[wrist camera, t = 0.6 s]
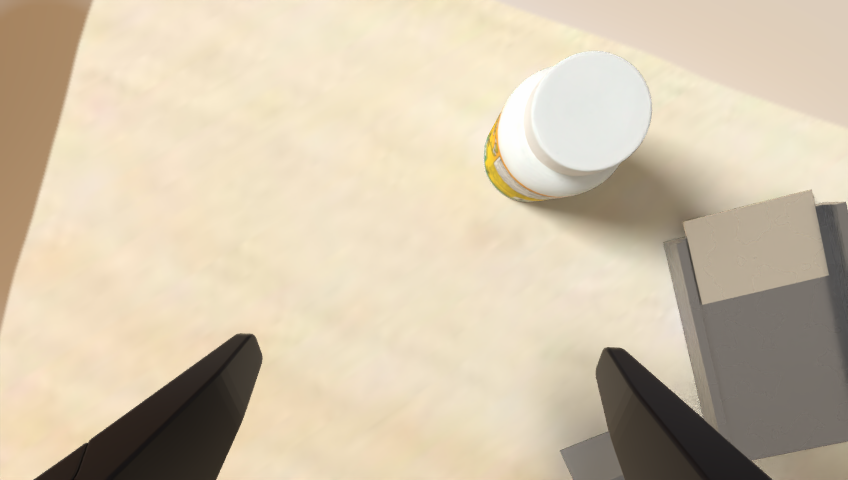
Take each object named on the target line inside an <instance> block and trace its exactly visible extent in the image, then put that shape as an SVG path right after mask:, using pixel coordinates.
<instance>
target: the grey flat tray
mask: <svg viewBox="0 0 848 480" xmlns="http://www.w3.org/2000/svg"><path fill="white" fill-rule="evenodd" d="M683 226H684V231H685V235H686V237H682V238H678V239H674V240H670V241H666V242H664V246H665V251H666V255H667V260H668V264H669V268H670V273H671V277H672V281H673V286H674V290H675V295H676V299H677V303H678V308H679V312H680V316H681V321H682V325H683V330H684V334H685V338H686V343H687V347H688V351H689V356H690V360H691V365H692V369H693V373H694V378H695V382H696V386H697V391H698V395H699V400H700V404H701V408H702V413H703V417H704V420H705V421H706V422H707V423H709V424H710V425H711V426H712V427H713V428H714V429H715V430H717V431H718V432H719V433H720V434H721V435H722V436H723V437H725V438H726V439H727V440H728V441H729V442H730V443H731V444H732V445H734V446H735V447H736V448H737V449H738V450H739V451H740V452H742V453H743V454H744V455H745V456H746V457H747V458H748V459H750V460H755V459H760V458H765V457H770V456H775V455H780V454H785V453H790V452H796V451H801V450H806V449H811V448H816V447H821V446H826V445H831V444H836V443H841V442H846V441H848V210H847V205H846V202H825V203H819V204H815V203H814V199H813V194H812V190H807V191H803V192H799V193H795V194H791V195H787V196H783V197H779V198H775V199H771V200H767V201H763V202H759V203H755V204H751V205H747V206H743V207H739V208H735V209H731V210H727V211H723V212H719V213H715V214H712V215H708V216H704V217H700V218H696V219H692V220H688V221H684V222H683Z"/></svg>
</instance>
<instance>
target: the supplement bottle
mask: <svg viewBox="0 0 848 480" xmlns="http://www.w3.org/2000/svg"><path fill="white" fill-rule="evenodd" d="M651 115H652V102H651V96H650V92H649V88H648V86H647V84H646V82H645V80H644V78H643V76H642V75H641V74H640V72H639V71H638V70H637V69H636V68H635V67H634V66H633V65H632V64H631V63H629V62H628V61H626V60H625V59H623V58H621V57H619V56H617V55H614V54H611V53H607V52H603V51H588V52H582V53H577V54H574V55H572V56H570V57H567V58H565V59H564V60H562V61H560V62H559V63H557V64H556V65H555V66H552V67H548V68H545V69H543V70H541V71H539V72H537V73H535V74H533V75H531V76H530V77H528V78H527V79H526V80H524V81H523V82H522V83H521V84H520V85H519V86H518V87H517V88H516V89H515V90H514V92H513V93H512V94H511V95H510V97H509V98H508V100H507V102H506V104H505V105H504V107H503V109H502V111H501V113H500V115H499V117H498V119H497V120H496V122H495V124H494V126H493V128H492V130H491V131H490V133H489V135H488V138H487V140H486V144H485V148H484V169H485V172H486V175H487V177H488V179H489V181H490V182H491V184H492V185H493V186H494V187H495V188H496V189H497V190H498V191H499V192H500V193H501V194H503V195H504V196H506V197H508V198H510V199H513V200H516V201H521V202H535V201H543V200H549V199H556V198H563V197H569V196H574V195H578V194H581V193H584V192H587V191H589V190H591V189H593V188H595V187H597V186H598V185H600V184H601V183H602V182H604V181H605V180H606V179H607V178H609V177H610V176H611V175H612V174H613V172H614V171H615V170H616V169H617V167H618V166H619V165H620V163H621V162H623V161H624V160H626V159H627V158H628V157H629V156H630V155H631V154H632V153H633V152H634V151H635V150H636V149H637V148H638V147H639V146H640V144H641V143H642V141H643V140H644V138H645V136H646V134H647V131H648V128H649V125H650V122H651Z"/></svg>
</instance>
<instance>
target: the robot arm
mask: <svg viewBox="0 0 848 480" xmlns="http://www.w3.org/2000/svg"><path fill="white" fill-rule="evenodd" d="M261 364H262V353H261V350H260V347H259V345H258V342H257V339H256V337H255V336H254V335H253V334H243V333H240V334H236V335H235V336H233V337H232V338H230V339H229V340H228V341H226V342H225V343H224V344H222V345H221V346H219V347H218V348H217V349H215V350H214V351H212V352H211V353H210V354H208V355H207V356H205V357H204V358H203V359H201V360H200V361H199V362H197V363H196V364H194V365H193V366H192V367H190V368H189V369H187V370H186V371H185V372H183V373H182V374H181V375H179V376H178V377H176V378H175V379H174V380H172V381H171V382H169V383H168V384H167V385H165V386H164V387H163V388H161V389H160V390H158V391H157V392H156V393H154V394H153V395H151V396H150V397H149V398H147V399H146V400H144V401H143V402H142V403H140V404H139V405H138V406H136V407H135V408H133V409H132V410H131V411H129V412H128V413H126V414H125V415H124V416H122V417H121V418H120V419H118V420H117V421H115V422H114V423H113V424H111V425H110V426H108V427H107V428H106V429H104V430H103V431H102V432H100V433H99V434H97V435H96V436H95V437H93V438H92V439H90V440H89V442H88V443H85V444H83V445H82V446H81V447H79V448H78V449H76V450H75V451H74V452H72V453H71V454H69V455H68V456H67V457H65V458H64V459H62V460H61V461H60V462H58V463H57V464H55V465H54V466H52V467H51V468H50V469H48V470H47V471H45V472H44V473H42V474H41V475H40V476H38V477H37V478H35V479H34V480H216V479H217V477H218V474H219V472H220V470H221V468H222V465H223V463H224V461H225V459H226V456H227V454H228V452H229V450H230V448H231V445H232V443H233V441H234V439H235V436H236V434H237V432H238V430H239V427H240V425H241V423H242V420H243V418H244V415H245V412H246V409H247V406H248V403H249V400H250V397H251V394H252V391H253V388H254V385H255V382H256V379H257V376H258V373H259V370H260V367H261ZM596 379H597V383H598V388H599V392H600V396H601V400H602V405H603V409H604V413H605V417H606V422H607V426H608V430H609V434H610V438H611V441H612V444H613V447H614V450H615V453H616V456H617V459H618V462H619V465H620V467H621V470H622V473H623V476H624V479H625V480H772V479H771V478H770V477H769V476H768V475H767V474H766V473H764V472H763V471H762V470H761V469H760V468H759V467H758V466H756V465H755V464H754V463H753V462H752V461H751V460H750V459H748V458H747V457H746V456H745V455H744V454H743V453H742V452H740V451H739V450H738V449H737V448H736V447H735V446H734V445H732V444H731V443H730V442H729V441H728V440H727V439H726V438H725V437H723V436H722V435H721V434H720V433H719V432H718V431H717V430H715V429H714V428H713V427H712V426H711V425H710V424H709V423H707V422H706V421H705V420H704V419H703V418H702V417H701V416H699V415H698V414H697V413H696V412H695V411H694V410H693V409H691V408H690V407H689V406H688V405H687V404H686V403H685V402H683V401H682V400H681V399H680V398H679V397H678V396H677V395H676V394H674V393H673V392H672V391H671V390H670V389H669V388H668V387H666V386H665V385H664V384H663V383H662V382H661V381H660V380H658V379H657V378H656V377H655V376H654V375H653V374H652V373H650V372H649V371H648V370H647V369H646V368H645V367H644V366H642V365H641V364H640V363H639V362H638V361H637V360H636V359H635V358H633V357H632V356H631V355H630V354H629V353H628V352H627V351H625V350H624V349H622V348H614V347H606V348H604V349H603V351H602V354H601V356H600V359H599V362H598V365H597V367H596Z"/></svg>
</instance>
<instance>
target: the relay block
mask: <svg viewBox="0 0 848 480" xmlns="http://www.w3.org/2000/svg"><path fill="white" fill-rule="evenodd" d="M560 452H561V454H562V457H563V459H564V461H565V463H566V465H567V467H568V469H569V472H570V474H571V476H572V478H573V480H625V479H624V476H623V473H622V470H621V467H620V465H619V462H618V459H617V456H616V453H615V450H614V447H613V444H612V441H611V438H610V434H609V432H606V433H603V434H601V435H598V436H596V437H593V438H591V439H588V440H586V441H583V442H580V443H578V444H575V445H573V446H570V447H568V448H565V449H563V450H560Z"/></svg>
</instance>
